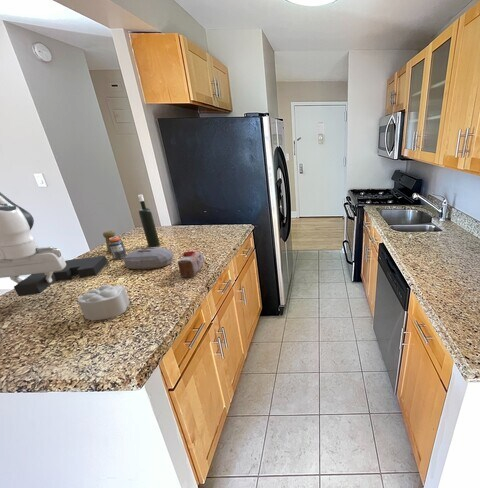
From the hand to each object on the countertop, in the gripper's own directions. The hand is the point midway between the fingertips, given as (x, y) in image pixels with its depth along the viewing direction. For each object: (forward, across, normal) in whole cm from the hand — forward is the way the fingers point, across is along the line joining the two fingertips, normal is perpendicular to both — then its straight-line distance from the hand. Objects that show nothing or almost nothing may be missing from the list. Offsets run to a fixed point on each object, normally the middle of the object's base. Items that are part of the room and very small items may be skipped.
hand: (36, 283), depth 97 cm
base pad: (+8, -1, -26) cm, 27 cm away
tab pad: (+2, 0, -2) cm, 2 cm away
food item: (+8, -51, -9) cm, 52 cm away
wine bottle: (+8, -26, -51) cm, 58 cm away
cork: (+8, -6, -52) cm, 53 cm away
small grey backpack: (+8, -31, -23) cm, 40 cm away
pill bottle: (+8, -13, -38) cm, 41 cm away
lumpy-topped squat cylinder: (+8, -25, +15) cm, 30 cm away
